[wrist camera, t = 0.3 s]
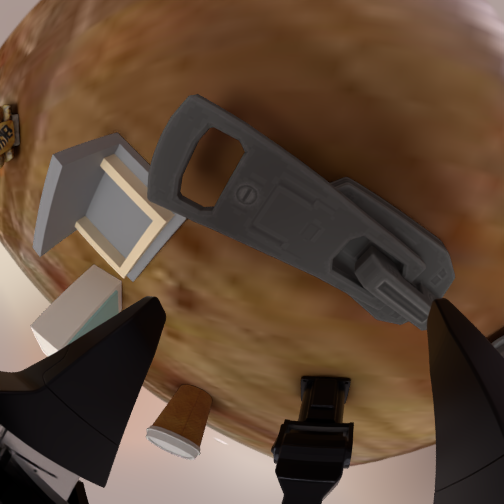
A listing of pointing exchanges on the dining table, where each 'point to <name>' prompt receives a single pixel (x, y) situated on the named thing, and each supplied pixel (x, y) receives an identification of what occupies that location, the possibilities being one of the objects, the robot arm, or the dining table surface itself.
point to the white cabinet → (78, 310)
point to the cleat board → (104, 205)
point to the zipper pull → (306, 218)
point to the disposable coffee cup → (182, 423)
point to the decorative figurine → (8, 133)
